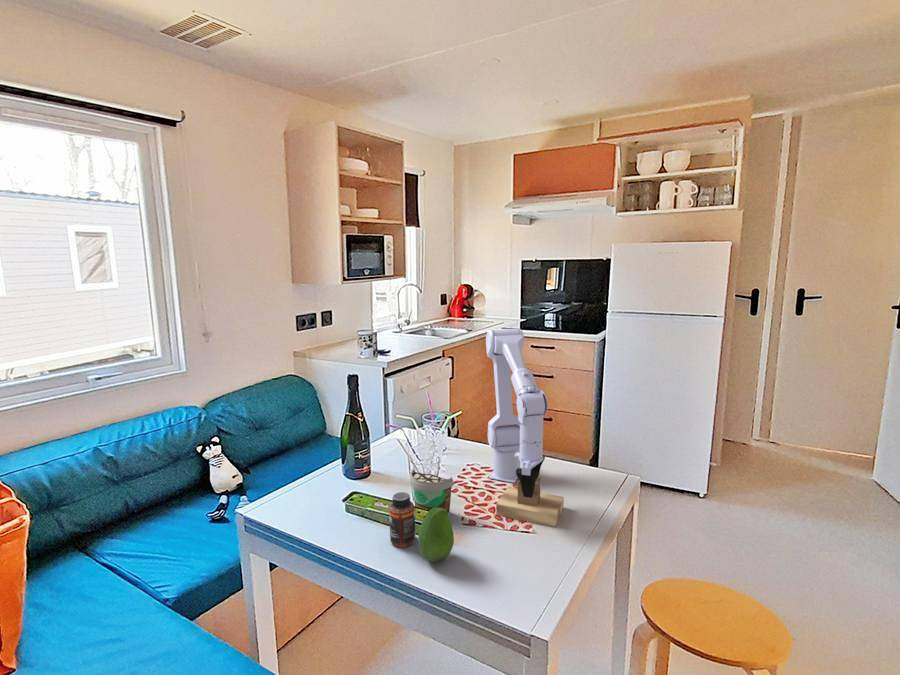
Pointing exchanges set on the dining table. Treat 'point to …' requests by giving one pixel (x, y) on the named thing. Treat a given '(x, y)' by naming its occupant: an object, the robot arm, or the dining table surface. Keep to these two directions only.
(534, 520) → the oak block
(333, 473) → the dining table surface
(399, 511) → the supplement bottle
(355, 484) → the dining table surface
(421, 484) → the food container
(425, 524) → the avocado
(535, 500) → the walnut block
